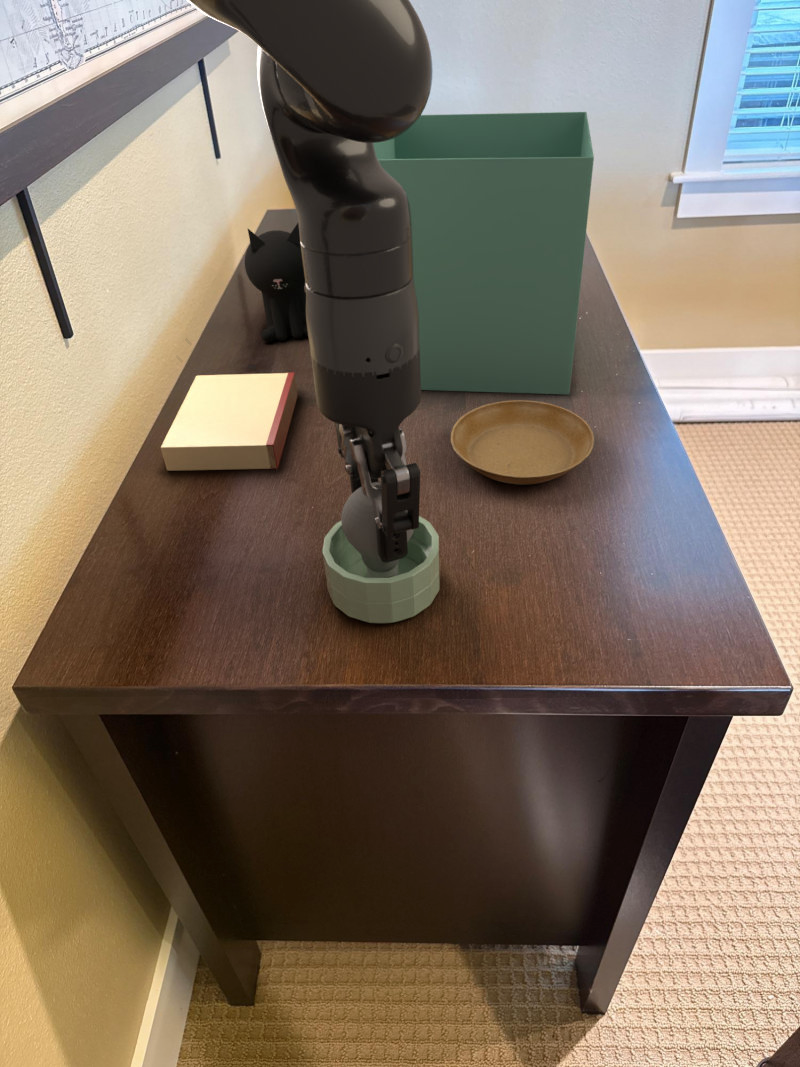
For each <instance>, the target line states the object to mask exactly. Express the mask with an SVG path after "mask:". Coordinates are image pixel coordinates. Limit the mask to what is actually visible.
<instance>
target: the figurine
mask: <svg viewBox="0 0 800 1067" xmlns="http://www.w3.org/2000/svg"><path fill="white" fill-rule="evenodd" d="M247 233H248V239H249V245H248V247H247V249H246V250H245V251H246V252H245V255H244V269H245V273H246V276H247V278H248V279H249V281H250V283H251V284H252V285H253V286H254V287H255V288H256V289H257V290H259V291H260V292H261V295H262V296H261V297H262V303H263V308H264V314H265V320H266V326H267V328H266V329H264V330H262V332H261V334H260V335H261V336H260V337H261V340H262V341H264V342H265V343H269V342H272V341H274V340H275V339H276V340H278V341H280V342H284V341H286V339H287V338H288V337H291V336H292V337H293V338H294V339H296V340H297V339H301V338H302V337H303V336H307V337H308V330H307V322H306V288H305V287H306V285H305V283H306V282H305V276H304V268H303V260H302V252H301V244H300V234H299V222H297V223H296V225H295V226H294V227H293V229H292V231H291V232H289V231H286V230H278V229H277V230H276V229H275V230H268V231H266V232H262V233H261V234H259V235H257V234H256V233H254V232H253V231H252V230H250V228H247Z"/></svg>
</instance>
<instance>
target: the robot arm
mask: <svg viewBox="0 0 800 1067" xmlns="http://www.w3.org/2000/svg"><path fill="white" fill-rule="evenodd" d="M186 1H187V2H188V3H189V4H190V5H192V6H193V7H194V8H196V9H197V10H198V11H200V12H201V13H202V14H203V15H205V16H207V17H208V18H211V19H213V20H215V21H217V22H219V23H222V24H224V25H226V26H228V27H231V28H232V29H235V30H237V31H239V32H240V33H242V34H244V35H245V36H246V37H247V38H249V40H251V41H252V42H254V44H256V45H257V56H256V69H257V70H256V71H257V72H256V73H257V82H258V83H257V84H258V90H259V96H260V101H261V107H262V109H263V110H262V111H263V113H264V117H265V121H266V124H267V127H268V130H269V134H270V137H271V140H272V144H273V147H274V150H275V153H276V155H277V159H278V162H279V165H280V169H281V172H282V175H283V178H284V181H285V184H286V186H287V189H288V192H289V193H290V196H291V199H292V202H293V205H294V208H295V210H296V214H297V218H298V223H299V234H300V244H301V252H302V260H303V268H304V276H305V282H306V283H305V292H306V322H307V330H308V336H307V338H308V345H309V353H310V361H311V368H312V377H313V384H314V392H315V393H314V394H315V399H316V405H317V408H318V410H319V412H320V413H321V414H322V415H323V416H324V417H325V418H326V419H328V420H329V421H331V422H333V423H334V426H335V433H336V439H337V440H336V441H337V446H338V448H337V452H338V454H339V455H340V457H341V458H343V460H344V462H345V465H344V469H345V472H346V473H347V475H348V476H349V480H350V489H351V494H352V493H353V492H355V491H356V490H357V489H358V488H360V487H362V490H363V494H364V496H366V497H367V498H369V499H371V501H372V506H373V511H374V516H375V519H374V520H375V524H376V531H377V543H378V554H379V557H380V558H381V560H382V562H384V563H387V562H391V561H395V560H398V559H402V558H404V557H406V555H407V554H408V548H407V530H411V529H412V530H413V529H416V528H419V516H420V503H421V502H420V501H421V500H420V496H421V470H420V467H419V465H418V463H417V462H412V463H409V464H408V463H407V458H406V452H407V449H408V446H407V441H406V440H407V439H406V436H405V435H406V434H405V432H404V430H403V429H402V428H401V427H400V425H401V424H402V423H403V422H404V420H405V419H407V418H408V417H409V416H410V415H411V414H413V412H415V411H416V410H417V408H418V407H419V405H420V404H421V400H422V390H421V371H420V340H419V313H418V303H417V297H416V291H415V285H414V276H413V245H412V221H411V210H410V203H409V199H408V196H407V193H406V191H405V190H404V188H403V187H402V186H401V185H400V184H399V183H398V182H397V181H396V180H395V179H394V178H392V177H391V176H390V175H389V174H388V173H387V172H386V171H385V170H384V169H383V167H382V166H381V165H380V163H379V161H378V159H377V157H376V153H375V149H374V145H373V143H377V142H384V141H388V140H391V139H393V138H396V137H398V136H400V135H401V134H403V133H404V132H406V131H407V130H408V129H409V128H411V127H412V126H413V125H414V123H415V122H416V121H417V120H418V118H419V117H420V116H421V115H423V112H424V110H425V108H426V107H427V104H428V101H429V98H430V95H431V91H432V90H431V89H432V84H433V73H434V72H433V71H434V70H433V59H432V52H431V47H430V43H429V39H428V36H427V33H426V30H425V27H424V25H423V22H422V21H421V19H420V17H419V14H418V12H417V11H416V10H415V8H414V6H413V4H412V3H411V1H410V0H186ZM374 482H380V485H376V486H373V485H372V483H374ZM381 499H382V502H381Z"/></svg>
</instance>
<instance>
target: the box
mask: <svg viewBox="0 0 800 1067" xmlns="http://www.w3.org/2000/svg"><path fill="white" fill-rule="evenodd" d="M590 131H591V130H590V125H589V118H588V112H587V111H559V112H555V111H554V112H553V111H552V112H507V113H505V112H504V113H501V112H500V113H458V114H457V113H456V114H455V113H454V114H452V113H451V114H421V116H420V117H419V118H418V120H417V121H416V122H415V123H414V125H413V126H412V127H411V128H409V129H408V130H407V131H406V132H404V133H403V134H401V135H400V136H398V137H396V138H393V139H391V140H388V141H384V142H377V143H373V145H374V149H375V153H376V157H377V159H378V161H379V163H380V165H381V166H382V167H383V169H384V170H385V171H386V172H387V173H388V174H389V175H390V176H391V177H392V178H394V179H395V180H396V181H397V182H398V183H399V184H400V185H401V186H402V187H403V188H404V190H405V191H406V193H407V196H408V199H409V203H410V210H411V221H412V245H413V276H414V285H415V291H416V297H417V303H418V313H419V340H420V371H421V391H438V392H439V391H440V392H441V391H444V392H471V393H472V392H473V393H475V392H476V393H502V394H530V395H531V394H532V395H533V394H536V395H566V396H570V392H571V383H572V374H573V373H572V372H573V364H574V353H575V344H576V334H577V326H578V325H577V324H578V316H579V306H580V295H581V286H582V285H581V284H582V278H583V269H584V268H583V266H584V256H585V247H586V237H587V228H588V218H589V208H590V200H591V199H590V198H591V191H592V190H591V189H592V179H593V170H594V161H595V156H594V150H593V144H592V137H591V132H590Z"/></svg>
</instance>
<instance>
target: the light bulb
mask: <svg viewBox="0 0 800 1067" xmlns="http://www.w3.org/2000/svg"><path fill="white" fill-rule="evenodd" d="M372 485H373V486H376V485H380V482H379V481H378V482H374V483H372ZM381 502H382V499H381ZM340 519H341V520H340V521H341V522H342V528H343V531H344V534H345V536H346V538H347V540H348V541H349V542H350V544H351V545H352V546H353V547H354V548H355V549H356V550H357V551H358V552H359V553H360V554H361V556H362V560H363V562H364V564H365V565H366V566H367V574H368V578H389V577H393V576H397V575H398V563H399V561H400V559H398V560H395V561H391V562H387V563H384V562H382V560H381V558H380V557H379V554H378V543H377V531H376V524H375V520H374V519H375V516H374V511H373V506H372V501H371V499H369V498H367V497H366V496H364V494H363V490H362V487H360V488H358V489H357V490H356V491H355V492H353V493H352V492H351V494H350V495H349V497H348V498H347V500H346V502H345V503H344V505H343V508H342V511H341V515H340ZM413 531H414V529H413V530H412V529H411V530H407V543H408V541H409V540H410V538H411V536H412V534H413Z"/></svg>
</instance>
